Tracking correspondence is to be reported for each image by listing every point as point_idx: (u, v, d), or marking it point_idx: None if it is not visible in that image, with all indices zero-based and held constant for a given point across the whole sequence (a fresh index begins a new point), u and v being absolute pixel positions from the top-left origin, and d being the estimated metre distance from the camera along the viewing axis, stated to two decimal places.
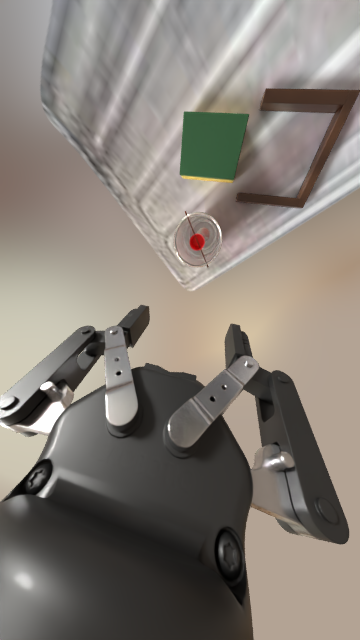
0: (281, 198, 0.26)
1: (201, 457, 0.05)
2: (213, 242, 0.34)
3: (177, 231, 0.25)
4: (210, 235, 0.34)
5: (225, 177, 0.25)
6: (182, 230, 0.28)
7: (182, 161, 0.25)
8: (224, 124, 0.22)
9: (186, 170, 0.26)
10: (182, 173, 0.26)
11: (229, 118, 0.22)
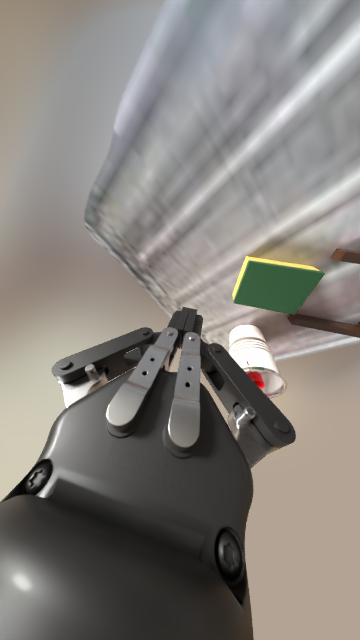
0: (343, 329, 0.24)
1: (201, 457, 0.05)
2: None
3: None
4: None
5: (285, 312, 0.24)
6: (233, 355, 0.26)
7: (239, 295, 0.24)
8: (294, 276, 0.20)
9: (242, 301, 0.24)
10: (237, 303, 0.24)
11: (300, 273, 0.20)
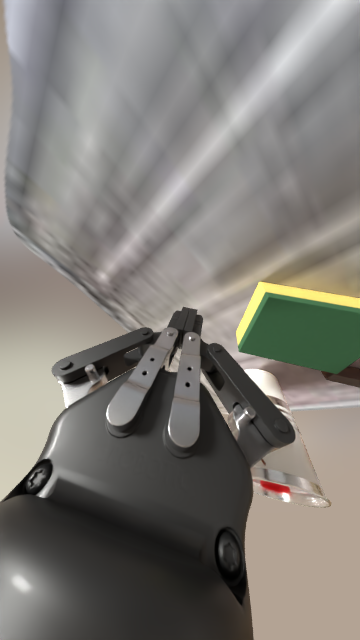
0: None
1: (201, 457, 0.05)
2: None
3: None
4: None
5: (321, 369, 0.15)
6: None
7: (247, 342, 0.15)
8: (347, 323, 0.11)
9: (252, 351, 0.15)
10: (244, 352, 0.16)
11: None
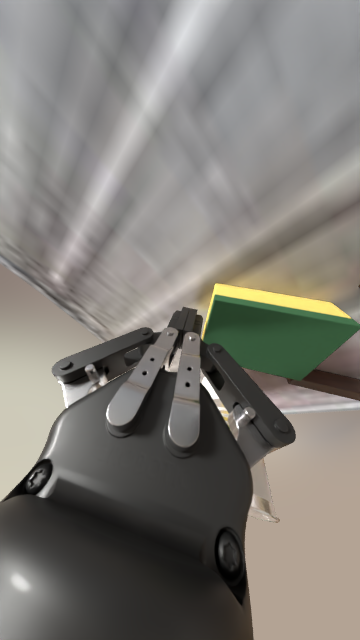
0: None
1: (201, 457, 0.05)
2: None
3: None
4: None
5: (284, 376, 0.14)
6: None
7: None
8: (299, 328, 0.11)
9: None
10: None
11: (313, 324, 0.10)
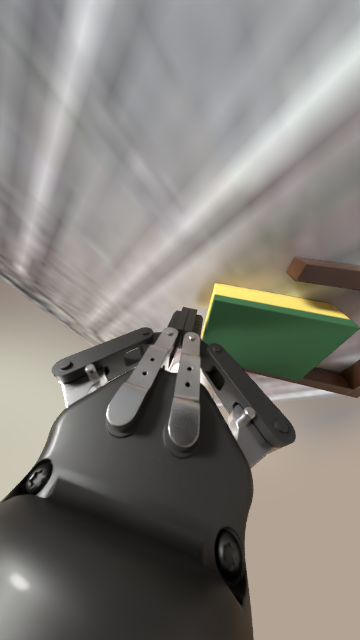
0: (319, 383, 0.15)
1: (201, 457, 0.05)
2: None
3: None
4: None
5: (282, 376, 0.14)
6: None
7: None
8: (298, 328, 0.11)
9: None
10: None
11: (312, 324, 0.10)
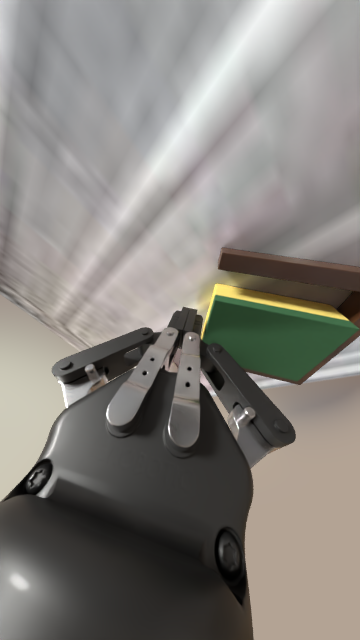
0: None
1: (201, 457, 0.05)
2: None
3: None
4: None
5: (281, 376, 0.14)
6: None
7: None
8: (298, 329, 0.11)
9: None
10: None
11: (311, 325, 0.10)
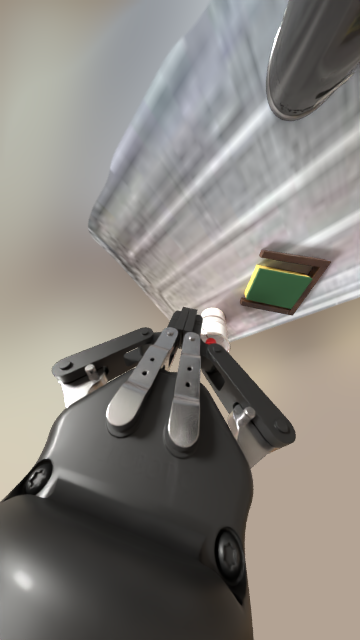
0: (276, 308, 0.34)
1: (201, 457, 0.05)
2: None
3: None
4: None
5: (284, 306, 0.32)
6: None
7: (250, 293, 0.32)
8: (291, 280, 0.28)
9: (252, 298, 0.32)
10: (248, 299, 0.32)
11: (296, 278, 0.28)
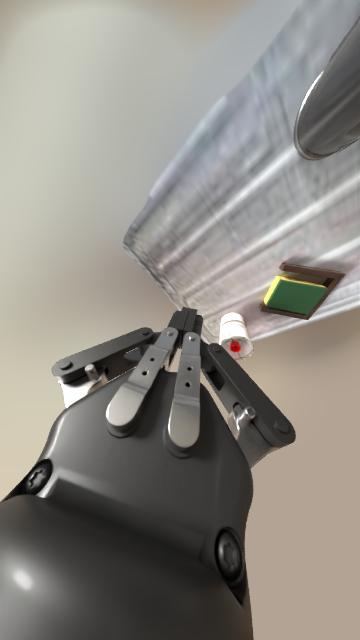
0: (293, 313, 0.37)
1: (201, 457, 0.05)
2: None
3: (221, 341, 0.36)
4: None
5: (301, 312, 0.35)
6: (222, 332, 0.39)
7: (271, 301, 0.35)
8: (309, 290, 0.32)
9: (272, 305, 0.36)
10: (268, 306, 0.36)
11: (313, 288, 0.32)
